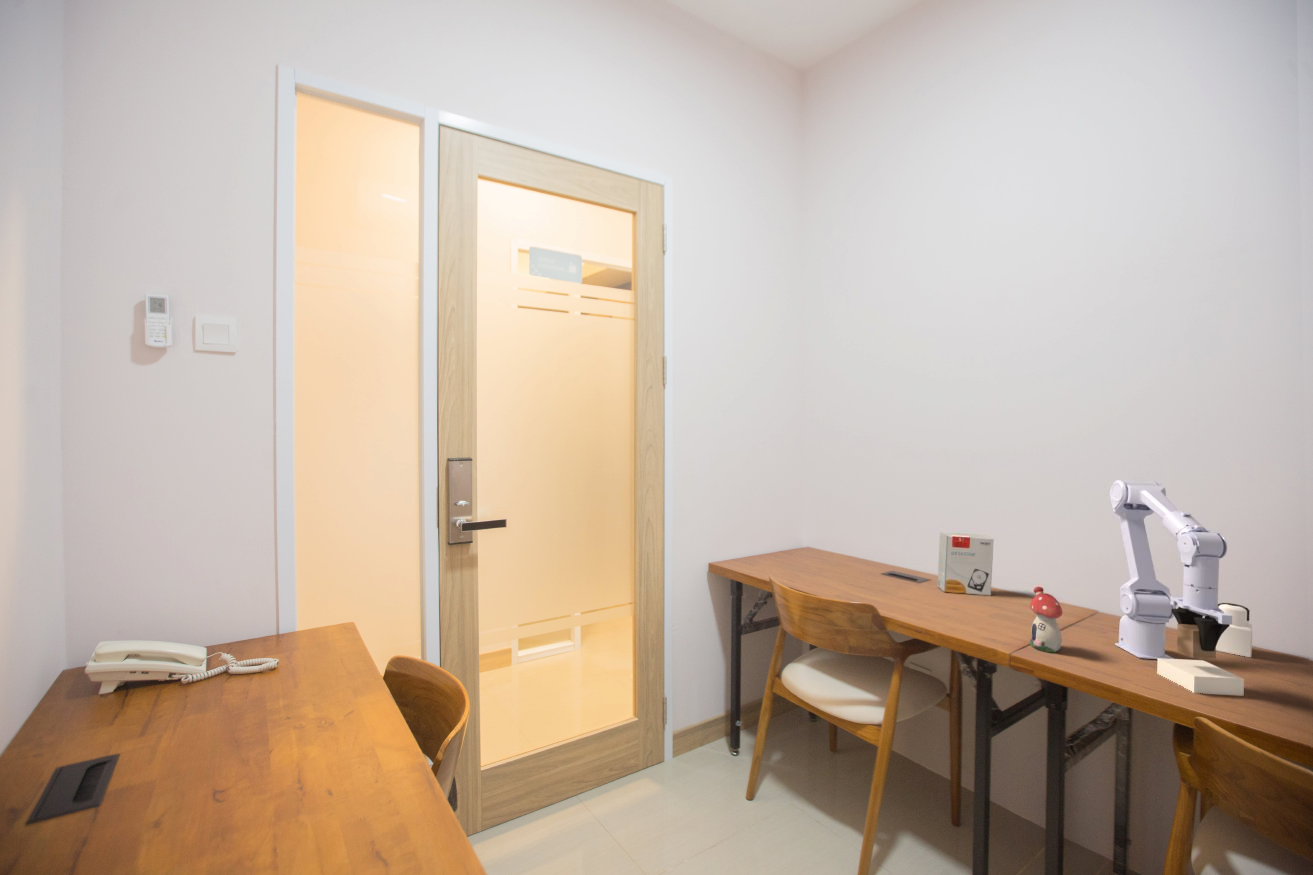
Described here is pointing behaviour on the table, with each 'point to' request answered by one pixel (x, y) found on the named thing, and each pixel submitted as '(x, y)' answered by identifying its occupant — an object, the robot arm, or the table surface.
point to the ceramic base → (1200, 676)
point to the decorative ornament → (1045, 622)
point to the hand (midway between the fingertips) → (1198, 646)
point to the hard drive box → (965, 563)
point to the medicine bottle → (1236, 631)
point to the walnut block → (1191, 642)
